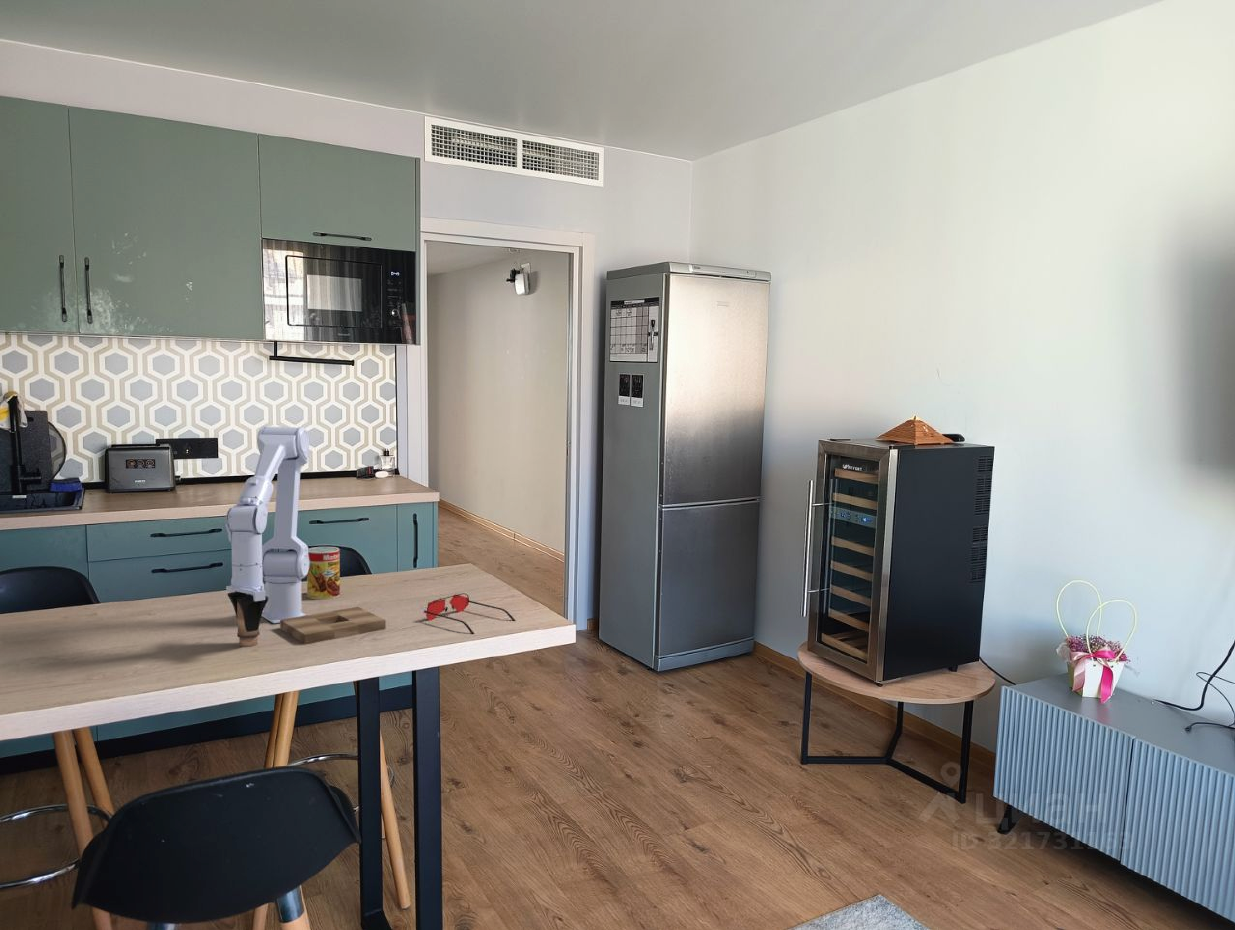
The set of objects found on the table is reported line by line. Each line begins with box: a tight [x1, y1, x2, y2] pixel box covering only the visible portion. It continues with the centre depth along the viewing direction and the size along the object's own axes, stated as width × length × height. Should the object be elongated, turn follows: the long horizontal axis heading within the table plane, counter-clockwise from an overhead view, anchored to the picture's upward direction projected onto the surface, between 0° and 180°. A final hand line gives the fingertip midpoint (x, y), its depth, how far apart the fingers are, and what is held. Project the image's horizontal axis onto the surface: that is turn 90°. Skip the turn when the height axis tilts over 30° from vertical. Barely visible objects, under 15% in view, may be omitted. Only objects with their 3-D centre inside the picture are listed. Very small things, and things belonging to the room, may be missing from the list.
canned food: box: [306, 546, 341, 601], centre depth 209 cm, size 8×8×12 cm
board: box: [279, 606, 387, 645], centre depth 181 cm, size 14×18×2 cm
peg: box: [236, 602, 260, 648], centre depth 169 cm, size 4×4×9 cm
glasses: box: [423, 592, 517, 635], centre depth 190 cm, size 14×16×5 cm
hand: (248, 628), depth 169 cm, fingers closed on peg, 4 cm apart
